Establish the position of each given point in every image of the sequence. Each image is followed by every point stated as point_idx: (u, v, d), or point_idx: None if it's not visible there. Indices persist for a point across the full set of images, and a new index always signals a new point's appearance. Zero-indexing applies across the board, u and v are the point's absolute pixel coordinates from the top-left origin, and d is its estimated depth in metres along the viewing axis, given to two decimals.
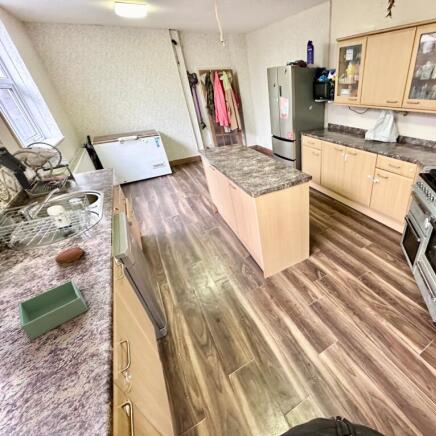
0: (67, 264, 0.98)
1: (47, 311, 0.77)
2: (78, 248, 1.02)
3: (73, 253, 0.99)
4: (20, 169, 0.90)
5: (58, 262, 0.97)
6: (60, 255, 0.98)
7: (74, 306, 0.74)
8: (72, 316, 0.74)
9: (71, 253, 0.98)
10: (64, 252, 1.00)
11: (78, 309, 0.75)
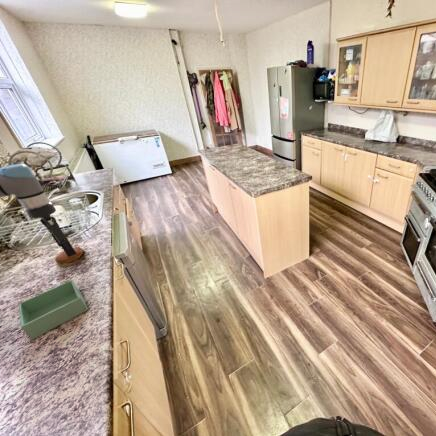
0: (67, 264, 0.98)
1: (47, 311, 0.77)
2: (78, 248, 1.02)
3: None
4: None
5: (58, 262, 0.97)
6: (60, 255, 0.98)
7: (74, 306, 0.74)
8: (72, 316, 0.74)
9: None
10: (64, 252, 1.00)
11: (78, 309, 0.75)
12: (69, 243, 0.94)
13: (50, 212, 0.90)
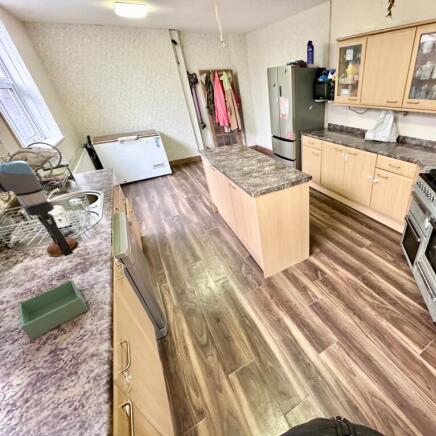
0: (59, 255, 0.95)
1: (47, 311, 0.77)
2: (71, 239, 1.00)
3: None
4: None
5: (50, 252, 0.94)
6: (52, 245, 0.95)
7: (74, 306, 0.74)
8: (72, 316, 0.74)
9: None
10: None
11: (78, 309, 0.75)
12: (66, 242, 0.94)
13: (48, 209, 0.89)
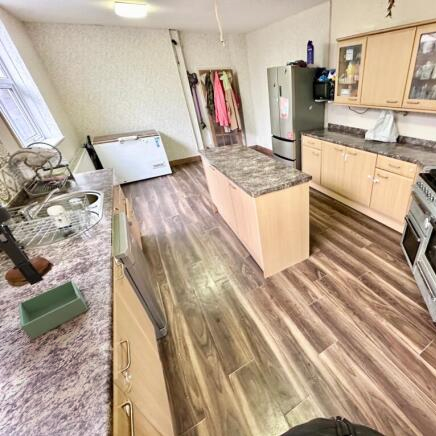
0: (23, 283, 0.67)
1: (47, 311, 0.77)
2: (41, 259, 0.71)
3: None
4: (19, 247, 0.71)
5: (9, 280, 0.66)
6: (12, 270, 0.67)
7: (74, 306, 0.74)
8: (72, 316, 0.74)
9: None
10: None
11: (78, 309, 0.75)
12: (32, 266, 0.66)
13: (2, 220, 0.61)
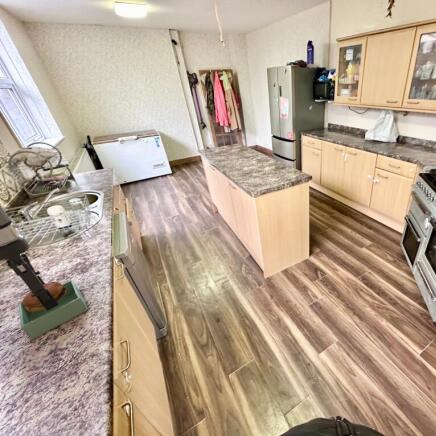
0: (39, 308, 0.70)
1: (47, 311, 0.77)
2: (56, 284, 0.74)
3: None
4: (35, 272, 0.74)
5: (26, 306, 0.69)
6: (29, 296, 0.70)
7: (74, 306, 0.74)
8: (72, 316, 0.74)
9: None
10: None
11: (78, 309, 0.75)
12: (48, 292, 0.69)
13: (21, 250, 0.64)
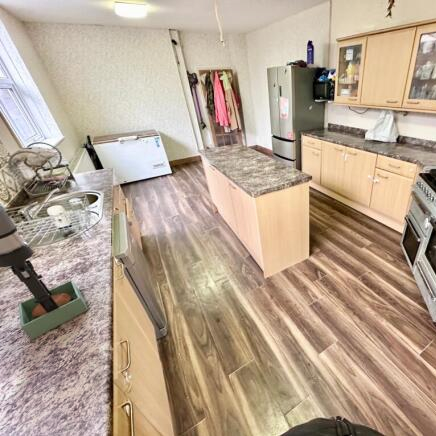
0: None
1: None
2: (64, 295, 0.77)
3: (57, 304, 0.73)
4: (37, 276, 0.75)
5: (36, 318, 0.71)
6: (39, 308, 0.72)
7: (74, 306, 0.74)
8: (72, 316, 0.74)
9: None
10: None
11: (78, 309, 0.75)
12: (51, 298, 0.69)
13: (25, 257, 0.65)
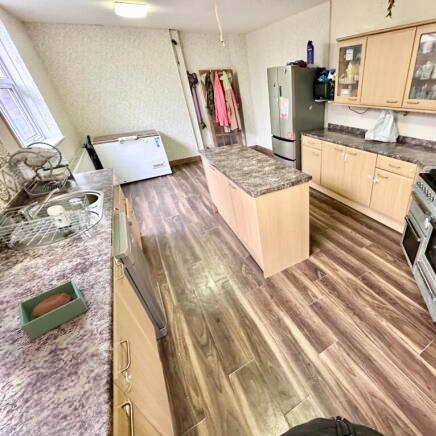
0: None
1: None
2: (64, 295, 0.77)
3: (57, 304, 0.73)
4: None
5: (36, 318, 0.71)
6: (39, 308, 0.72)
7: (74, 306, 0.74)
8: (72, 316, 0.74)
9: (54, 305, 0.73)
10: (45, 302, 0.74)
11: (78, 309, 0.75)
12: None
13: None
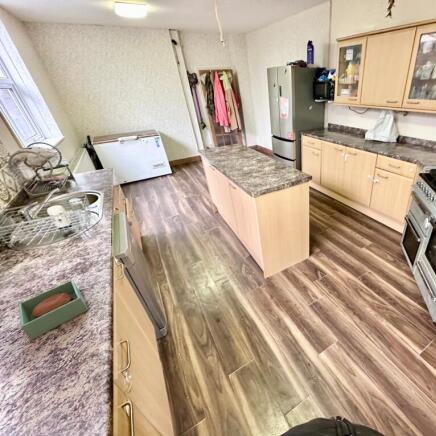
0: None
1: None
2: (64, 295, 0.77)
3: (57, 304, 0.73)
4: None
5: (36, 318, 0.71)
6: (39, 308, 0.72)
7: (74, 306, 0.74)
8: (72, 316, 0.74)
9: (54, 305, 0.73)
10: (45, 302, 0.74)
11: (78, 309, 0.75)
12: None
13: None
